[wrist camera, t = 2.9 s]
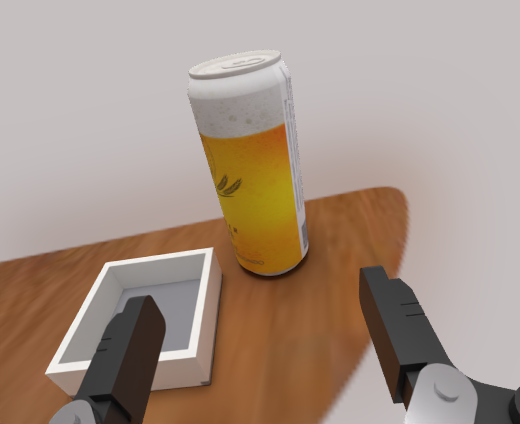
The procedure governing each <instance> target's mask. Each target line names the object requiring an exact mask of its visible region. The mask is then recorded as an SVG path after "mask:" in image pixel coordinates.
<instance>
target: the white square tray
mask: <svg viewBox="0 0 520 424" xmlns="http://www.w3.org/2000/svg"><path fill="white" fill-rule="evenodd" d="M222 276H223V274H222V271H221V269H220V266H219V263H218V260H217V257H216V254H215V251H214V248H206V249H199V250H192V251H185V252H178V253H171V254H164V255H157V256H150V257H143V258H136V259H129V260H122V261H115V262H108V263H105V265H104V267H103V269H102V270H101V272H100V274H99V276H98V278H97V280H96V281H95V283H94V285H93V287H92V289H91V290H90V292H89V294H88V296H87V298H86V300H85V301H84V303H83V305H82V307H81V309H80V310H79V312H78V314H77V316H76V318H75V320H74V321H73V323H72V325H71V327H70V329H69V330H68V332H67V334H66V336H65V338H64V340H63V341H62V343H61V345H60V347H59V349H58V351H57V352H56V354H55V356H54V358H53V360H52V361H51V363H50V365H49V367H48V369H47V371H46V372H45V375H46V376H48V377H49V378H50V379H51V380H52V381H53V382H54V383H56V384H57V385H58V386H59V387H60V388H61V389H62V390H63V391H65V392H66V393H67V394H68V395H69V396H70V397H71V398H72V399H74V398H75V396H76V394H77V392H78V389H79V387H80V385H81V383H82V380H83V378H84V376H85V374H86V371H87V369H88V367H89V365H90V362H91V360H92V358H93V356H94V353H96V349H97V347H98V344H99V342H101V338H102V335H103V333H104V331H105V329H106V326H107V325H108V324H109V322H110V321H111V320H112V319H113V318H114V316H115V315H116V314H117V313H122V312H123V309H124V307H125V304H126V302H127V300H128V299H129V298H130V297H137V296H144V295H151V296H152V297H153V299H154V301H155V302H156V304H157V306H158V308H159V309H160V311H161V313H162V315H163V316H164V319H165V322H166V333H165V337H164V341H163V345H162V349H161V353H160V357H159V360H158V364H157V368H156V372H155V376H154V380H153V383H152V387H151V391H153V390H162V389H172V388H182V387H191V386H201V385H210V384H211V376H212V367H213V358H214V349H215V340H216V331H217V322H218V313H219V303H220V294H221V285H222Z"/></svg>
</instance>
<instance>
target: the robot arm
mask: <svg viewBox="0 0 520 424" xmlns="http://www.w3.org/2000/svg"><path fill="white" fill-rule="evenodd" d="M359 299H360V304H361V309H362V312H363V315H364V318H365V321H366V324H367V327H368V330H369V333H370V336H371V338H372V341H373V344H374V347H375V350H376V353H377V356H378V359H379V362H380V365H381V368H382V371H383V374H384V377H385V379H386V383H387V385H388V388H389V391H390V394H391V397H392V400H393V403H394V404H395V403H404V406H405V409H406V411H407V413H406V417H405V420H404V423H403V424H520V387H519V388H518V389H517V391H515V390H511V389H506V388H501V387H497V386H492V385H488V384H484V383H480V382H477V381H475V380H473V379H471V378H469V377H467V376H466V375H464V374H463V373H462V372H460V371H459V370H458V369H457V368H456V367H455V366H454V365H453V364H452V362H451V361H450V359H449V358H448V356H447V354H446V352H445V350H444V349H443V347H442V345H441V343H440V341H439V339H438V337H437V335H436V334H435V332H434V330H433V328H432V326H431V324H430V322H429V320H428V319H427V317H426V316H425V313H424V311H423V309H422V307H421V306H420V305H419V302H418V300H417V298H416V296H415V294H414V292H413V290H412V289H411V288H410V287H409V286H408V285H407V284H405V283H404V282H403V281H402V280H401V279H400V278H398V279H390V280H389V279H388V277H387V274H386V272H385V270H384V268H383V267H382V266H381V265H380V266H372V267H365V268H360V277H359ZM165 333H166V322H165V319H164V316H163V315H162V313H161V311H160V309H159V308H158V306H157V304H156V302H155V301H154V299H153V297H152V296H151V295H144V296H137V297H130V298H129V299H128V300H127V302H126V304H125V307H124V309H123V312H122V313H117V314H116V315H115V316H114V318H113V319H112V320H111V321H110V322H109V324H108V325H107V326H106V329H105V331H104V333H103V335H102V338H101V342H99V344H98V347H97V349H96V353H94V356H93V358H92V360H91V362H90V365H89V367H88V369H87V371H86V374H85V376H84V378H83V380H82V383H81V385H80V387H79V389H78V392H77V394H76V396H75V398H74V400H73V401H72V402H70V403H68V404H67V405H65V406H64V407H62V408H61V409H60V410H59V411H58V412H57V413H56V414H55V415H54V416H53V417H52V419H51V420H50V422H49V423H48V424H142V422H143V418H144V414H145V410H146V406H147V403H148V399H149V395H150V391H151V387H152V383H153V380H154V376H155V372H156V368H157V364H158V360H159V357H160V353H161V349H162V345H163V341H164V337H165Z"/></svg>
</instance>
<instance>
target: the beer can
mask: <svg viewBox="0 0 520 424" xmlns="http://www.w3.org/2000/svg"><path fill="white" fill-rule="evenodd" d="M189 75H190V81H189V88H188V97H189V100H190V104H191V107H192V110H193V113H194V117H195V120H196V124H197V127H198V131H199V134H200V137H201V140H202V144H203V147H204V151H205V154H206V157H207V160H208V164H209V167H210V170H211V174H212V178H213V181H214V184H215V188H216V191H217V194H218V198H219V201H220V204H221V208H222V211H223V215H224V218H225V221H226V225H227V228H228V231H229V235H230V238H231V241H232V245H233V248H234V251H235V255H236V258H237V260H238V262H239V263H240V264H241V265H242V266H243V267H244V268H246V269H248V270H250V271H252V272H254V273H256V274H259V275H265V276H273V275H279V274H283V273H285V272H287V271H289V270H291V269H293V268H294V267H295V266H296V265H297V264H298V263H299V262H300V261H301V260H302V259H303V257H304V256H305V255H306V253H307V250H308V235H307V226H306V217H305V208H304V198H303V189H302V180H301V171H300V161H299V153H298V144H297V134H296V125H295V115H294V106H293V97H292V88H291V78H290V72H289V70H288V69H287V67H286V65H285V64H284V62H283V60H282V58H281V53H280V52H279V51H276V50H259V51H250V52H243V53H238V54H233V55H229V56H224V57H220V58H216V59H213V60H210V61H207V62H204V63H201V64H199V65H197V66H195V67H193V68H191V69H190V70H189Z"/></svg>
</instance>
